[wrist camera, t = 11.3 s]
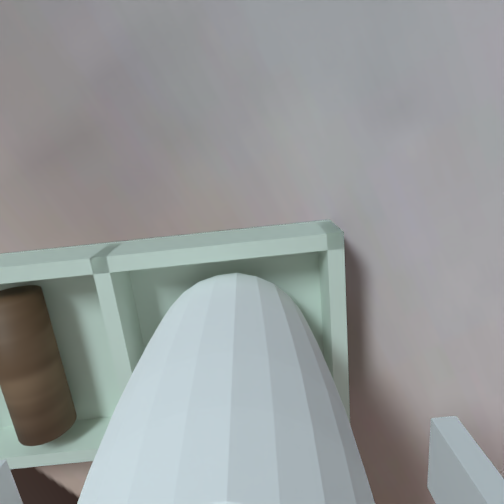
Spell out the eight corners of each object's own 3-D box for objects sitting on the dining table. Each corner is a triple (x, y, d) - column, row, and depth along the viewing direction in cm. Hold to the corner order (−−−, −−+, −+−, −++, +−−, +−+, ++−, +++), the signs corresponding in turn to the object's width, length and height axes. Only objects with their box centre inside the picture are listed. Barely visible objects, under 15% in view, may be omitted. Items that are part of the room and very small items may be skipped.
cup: (159, 257, 20) (-16, 495, 6) (314, 261, 20) (458, 497, 7) (163, 392, 22) (42, 774, 9) (302, 394, 23) (392, 767, 9)
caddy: (-91, 263, 20) (-146, 282, 18) (329, 219, 20) (343, 232, 17) (-26, 436, 24) (-64, 476, 21) (337, 399, 23) (350, 435, 21)
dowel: (-10, 290, 20) (-40, 313, 17) (49, 281, 21) (28, 302, 18) (30, 413, 22) (8, 451, 20) (82, 403, 23) (68, 438, 20)
